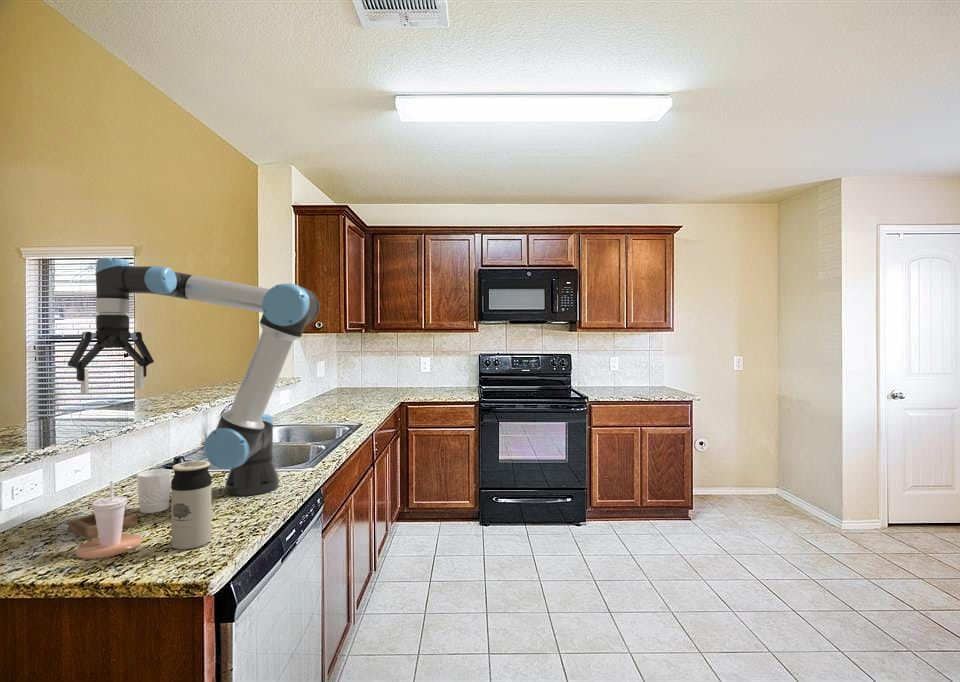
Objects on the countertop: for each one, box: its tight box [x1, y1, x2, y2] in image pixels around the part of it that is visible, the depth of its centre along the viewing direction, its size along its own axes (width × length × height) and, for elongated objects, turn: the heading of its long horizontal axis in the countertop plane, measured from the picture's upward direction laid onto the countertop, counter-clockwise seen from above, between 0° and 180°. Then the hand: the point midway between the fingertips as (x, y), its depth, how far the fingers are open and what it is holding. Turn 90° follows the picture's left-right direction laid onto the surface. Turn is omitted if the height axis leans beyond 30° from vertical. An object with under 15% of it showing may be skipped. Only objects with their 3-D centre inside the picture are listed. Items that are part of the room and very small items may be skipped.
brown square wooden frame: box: [67, 510, 138, 540], centre depth 127 cm, size 10×10×2 cm
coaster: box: [75, 533, 143, 560], centre depth 115 cm, size 12×12×1 cm
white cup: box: [136, 468, 172, 514], centre depth 141 cm, size 8×8×10 cm
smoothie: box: [91, 480, 128, 547], centre depth 115 cm, size 6×6×14 cm
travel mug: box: [170, 460, 212, 550], centre depth 118 cm, size 8×8×18 cm
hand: (113, 390), depth 144 cm, fingers open, 13 cm apart
